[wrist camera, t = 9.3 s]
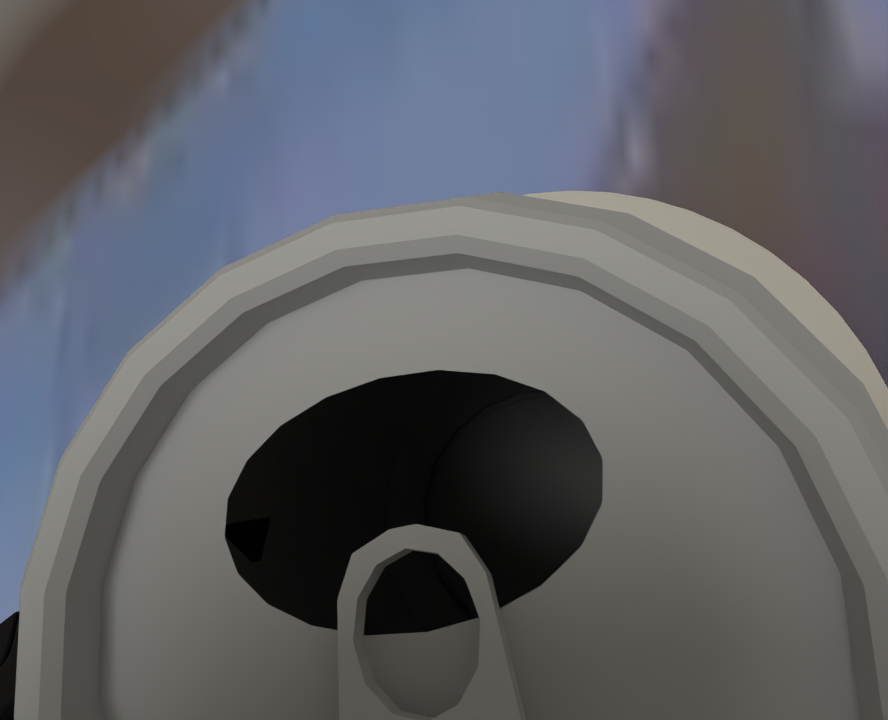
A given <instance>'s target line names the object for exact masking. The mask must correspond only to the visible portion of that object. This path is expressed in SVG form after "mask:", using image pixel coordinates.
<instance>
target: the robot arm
mask: <svg viewBox="0 0 888 720" xmlns="http://www.w3.org/2000/svg"><path fill="white" fill-rule="evenodd" d="M270 519H271V517H267V518H261V519H254V520H248V521H242V522H236V523H230V524H227V525H226V527H225V537H226V538H227V539H228V540H229V541H230V542H231V543H232V544H234V545H235V546H236V547H237V548H238V549H239V550H240V551H241V552H242V553H243V554H244V555H245V556H246V557H247V558H248V559H249V560H250V561H251V562H252V563H253V562H256V561H260V560H261V557H262V553H263V549H264V545H265V541H266V536H267V532H268V528H269V523H270ZM18 631H19V612H15V613H14V614H12V615H11V616H10V617H9V618H7V619H6V620H5V621H3V622H2V623H1V624H0V720H14V706H15V687H16V668H17V649H18Z"/></svg>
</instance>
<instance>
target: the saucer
mask: <svg viewBox="0 0 888 720" xmlns="http://www.w3.org/2000/svg"><path fill="white" fill-rule="evenodd" d="M522 196H528V197H534V198H540V199H546V200H552V201H558V202H564V203H570V204H576V205H582V206H588V207H594V208H600V209H606V210H612V211H618V212H624V213H629V214H631V215H633V216H635V217H637V218H639V219H641V220H643V221H645V222H647V223H649V224H651V225H653V226H655V227H657V228H659V229H661V230H663V231H665V232H667V233H669V234H671V235H673V236H675V237H677V238H679V239H681V240H683V241H684V242H686V243H688V244H690V245H692V246H694V247H696V248H698V249H700V250H702V251H704V252H706V253H708V254H710V255H712V256H714V257H716V258H718V259H720V260H722V261H724V262H726V263H728V264H730V265H732V266H734V267H736V268H738V269H740V270H741V271H743V272H745V273H747V274H749V275H751V276H753V277H755V278H756V279H757V280H758V281H759V282H760V283H761V284H762V285H763V286H764V287H765V288H766V289H767V290H768V291H769V292H770V293H771V294H772V295H773V296H774V297H775V298H776V299H777V300H778V301H779V302H780V303H781V304H783V305H784V306H785V307H786V308H787V309H788V310H789V311H790V312H791V313H792V314H793V315H794V316H795V317H796V318H797V319H798V320H799V321H800V322H801V323H802V324H803V325H804V326H805V327H806V328H807V329H808V330H809V331H810V332H811V333H812V334H813V335H814V336H815V337H816V338H817V339H818V340H819V341H820V342H821V343H822V344H823V345H824V346H825V347H826V348H827V349H828V350H829V351H830V352H831V353H832V354H833V355H835V356H836V357H837V358H838V359H839V360H840V361H841V362H842V363H843V364H844V365H845V366H846V367H847V368H848V369H849V370H850V371H851V372H852V373H853V374H854V375H855V376H856V377H857V378H858V379H859V380H860V381H861V382H862V383H863V384H864V386H865V388H866V390H867V392H868V393H869V395H870V397H871V399H872V401H873V403H874V405H875V407H876V409H877V410H878V412H879V414H880V416H881V418H882V420H883V422H884V424H885V426H886V428H887V429H888V388H887V386H886V384H885V383H884V381H883V379H882V377H881V376H880V374H879V372H878V370H877V368H876V367H875V365H874V363H873V361H872V360H871V358H870V356H869V354H868V353H867V351H866V349H865V348H864V347H863V345H862V344H861V343H860V341H859V340H858V339H857V337H856V336H855V335H854V333H853V332H852V331H851V329H850V328H849V327H848V325H847V324H846V323H845V321H844V320H843V319H842V317H841V316H840V315H839V313H838V312H837V311H836V310H835V309H834V308H833V307H832V306H831V305H830V304H829V303H828V302H827V301H826V300H825V299H824V298H823V297H822V296H821V295H820V294H819V293H818V292H817V291H816V290H815V289H814V288H813V287H812V286H811V285H810V284H809V283H808V282H807V281H806V280H805V279H804V278H803V277H802V276H800V275H799V274H798V273H797V272H795V271H794V270H793V269H791V268H790V267H789V266H788V265H786V264H785V263H784V262H783V261H781V260H780V259H779V258H777V257H776V256H775V255H774V254H772V253H771V252H770V251H768V250H766V249H765V248H763V247H761V246H760V245H758V244H756V243H755V242H753V241H751V240H750V239H748V238H746V237H745V236H743V235H741V234H740V233H738V232H736V231H735V230H733V229H731V228H729V227H727V226H724V225H722V224H720V223H717V222H715V221H713V220H711V219H708V218H706V217H704V216H701V215H699V214H697V213H695V212H692V211H689V210H686V209H683V208H679V207H676V206H672V205H669V204H666V203H662V202H659V201H655V200H652V199H647V198H641V197H635V196H629V195H623V194H617V193H611V192H589V191H559V192H547V193H535V194H526V195H522Z"/></svg>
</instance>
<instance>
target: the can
mask: <svg viewBox="0 0 888 720" xmlns="http://www.w3.org/2000/svg"><path fill="white" fill-rule="evenodd" d="M267 517H271V519H270V523H269V528H268V532H267V536H266V541H265V545H264V549H263V553H262V557H261V560H260V561H256V562H253V563H252V562H251V561H250V560H249V559H248V558H247V557H246V556H245V555H244V554H243V553H242V552H241V551H240V550H239V549H238V548H237V547H236V546H235V545H234V544H232V543H231V542H230V541H229V540H228V539H227V538H226V537H225V527H226V525H227V524H230V523H236V522H242V521H248V520H254V519H261V518H267ZM14 720H888V429H887V428H886V426H885V424H884V422H883V420H882V418H881V416H880V414H879V412H878V410H877V409H876V407H875V405H874V403H873V401H872V399H871V397H870V395H869V393H868V392H867V390H866V388H865V386H864V384H863V383H862V382H861V381H860V380H859V379H858V378H857V377H856V376H855V375H854V374H853V373H852V372H851V371H850V370H849V369H848V368H847V367H846V366H845V365H844V364H843V363H842V362H841V361H840V360H839V359H838V358H837V357H836V356H835V355H833V354H832V353H831V352H830V351H829V350H828V349H827V348H826V347H825V346H824V345H823V344H822V343H821V342H820V341H819V340H818V339H817V338H816V337H815V336H814V335H813V334H812V333H811V332H810V331H809V330H808V329H807V328H806V327H805V326H804V325H803V324H802V323H801V322H800V321H799V320H798V319H797V318H796V317H795V316H794V315H793V314H792V313H791V312H790V311H789V310H788V309H787V308H786V307H785V306H784V305H783V304H781V303H780V302H779V301H778V300H777V299H776V298H775V297H774V296H773V295H772V294H771V293H770V292H769V291H768V290H767V289H766V288H765V287H764V286H763V285H762V284H761V283H760V282H759V281H758V280H757V279H756V278H755V277H753V276H751V275H749V274H747V273H745V272H743V271H741V270H740V269H738V268H736V267H734V266H732V265H730V264H728V263H726V262H724V261H722V260H720V259H718V258H716V257H714V256H712V255H710V254H708V253H706V252H704V251H702V250H700V249H698V248H696V247H694V246H692V245H690V244H688V243H686V242H684V241H683V240H681V239H679V238H677V237H675V236H673V235H671V234H669V233H667V232H665V231H663V230H661V229H659V228H657V227H655V226H653V225H651V224H649V223H647V222H645V221H643V220H641V219H639V218H637V217H635V216H633V215H631V214H629V213H624V212H618V211H612V210H606V209H600V208H594V207H588V206H582V205H576V204H570V203H564V202H558V201H552V200H546V199H540V198H534V197H528V196H522V195H516V194H510V193H504V192H497V193H490V194H483V195H476V196H469V197H461V198H453V199H446V200H439V201H432V202H425V203H417V204H410V205H403V206H396V207H388V208H381V209H374V210H367V211H360V212H352V213H345V214H338V215H333V216H331V217H329V218H327V219H325V220H323V221H320V222H318V223H316V224H314V225H312V226H310V227H308V228H306V229H304V230H301V231H299V232H297V233H295V234H293V235H291V236H289V237H287V238H284V239H282V240H280V241H278V242H276V243H274V244H272V245H270V246H267V247H265V248H263V249H261V250H259V251H257V252H255V253H253V254H250V255H248V256H246V257H244V258H242V259H240V260H238V261H236V262H233V263H231V264H229V265H227V266H225V267H223V268H221V269H220V270H218V271H217V272H216V273H215V274H214V275H213V276H212V277H211V278H210V279H208V280H207V281H206V282H205V283H204V284H203V285H202V286H201V287H200V288H198V289H197V290H196V291H195V292H194V293H193V294H192V295H191V296H190V297H188V298H187V299H186V300H185V301H184V302H183V303H182V304H181V305H179V306H178V307H177V308H176V309H175V310H174V311H173V312H172V313H171V314H169V315H168V316H167V317H166V318H165V319H164V320H163V321H162V322H161V323H159V324H158V325H157V326H156V327H155V328H154V329H153V330H152V331H150V332H149V333H148V334H147V335H146V336H145V337H144V338H143V339H142V340H140V341H139V342H138V343H137V344H136V345H135V346H134V347H133V348H132V349H130V350H129V351H128V353H127V354H126V356H125V357H124V359H123V360H122V362H121V364H120V365H119V367H118V368H117V370H116V371H115V373H114V375H113V376H112V378H111V379H110V381H109V383H108V384H107V386H106V387H105V389H104V390H103V392H102V394H101V395H100V397H99V398H98V400H97V402H96V403H95V405H94V406H93V408H92V409H91V411H90V413H89V414H88V416H87V417H86V419H85V420H84V422H83V424H82V425H81V427H80V428H79V430H78V432H77V433H76V435H75V436H74V438H73V439H72V441H71V443H70V444H69V446H68V447H67V449H66V450H65V452H64V454H63V455H62V457H61V458H60V461H59V465H58V468H57V471H56V474H55V477H54V480H53V484H52V487H51V490H50V493H49V496H48V500H47V503H46V506H45V509H44V512H43V516H42V519H41V522H40V525H39V528H38V532H37V535H36V538H35V541H34V544H33V547H32V551H31V554H30V557H29V560H28V563H27V567H26V570H25V573H24V576H23V579H22V583H21V593H20V612H19V631H18V649H17V668H16V687H15V706H14Z"/></svg>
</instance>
